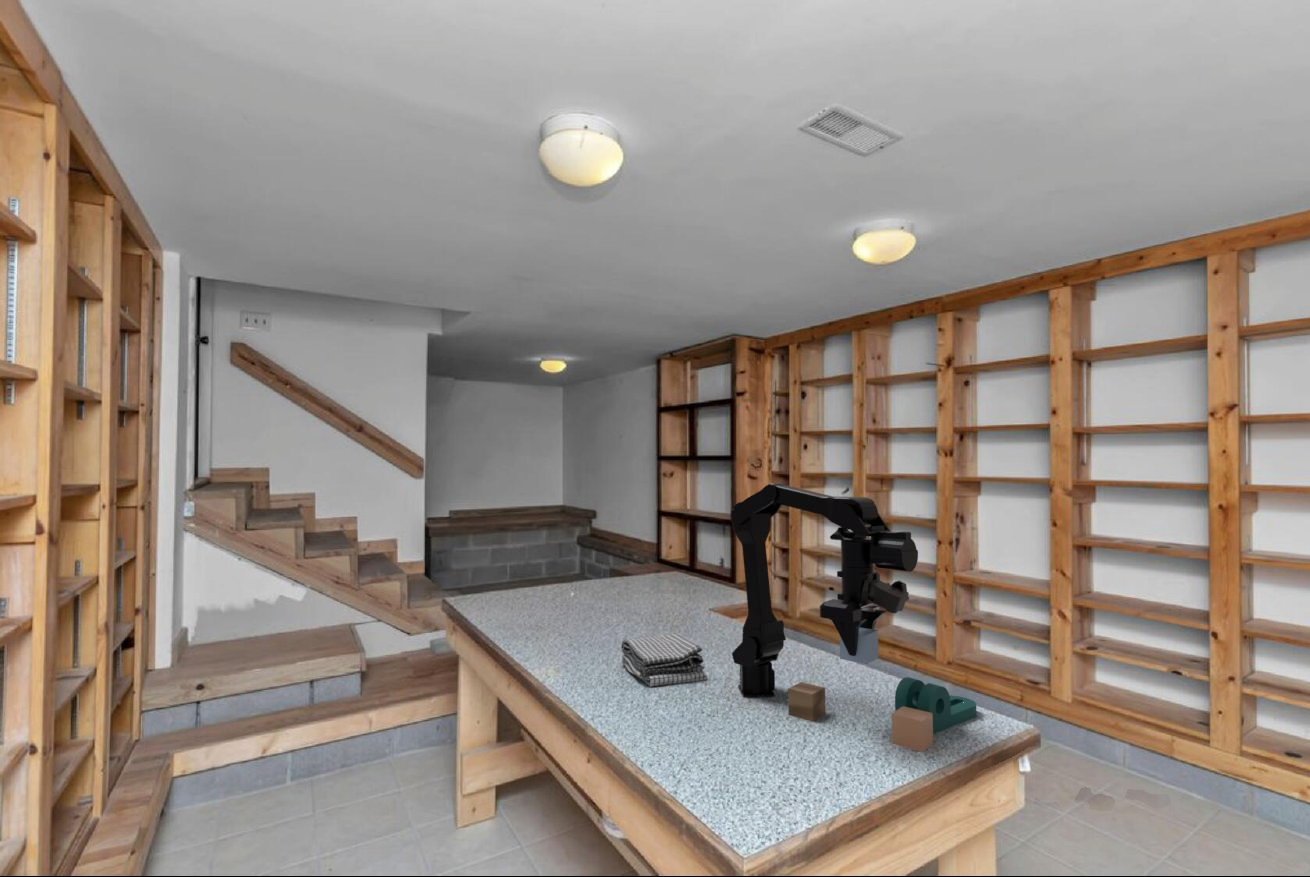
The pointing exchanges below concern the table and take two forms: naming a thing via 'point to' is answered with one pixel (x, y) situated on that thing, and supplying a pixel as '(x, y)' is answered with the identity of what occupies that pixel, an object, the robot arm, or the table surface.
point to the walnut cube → (806, 701)
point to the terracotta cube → (912, 728)
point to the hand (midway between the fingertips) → (858, 652)
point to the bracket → (934, 703)
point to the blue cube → (862, 647)
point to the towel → (663, 659)
